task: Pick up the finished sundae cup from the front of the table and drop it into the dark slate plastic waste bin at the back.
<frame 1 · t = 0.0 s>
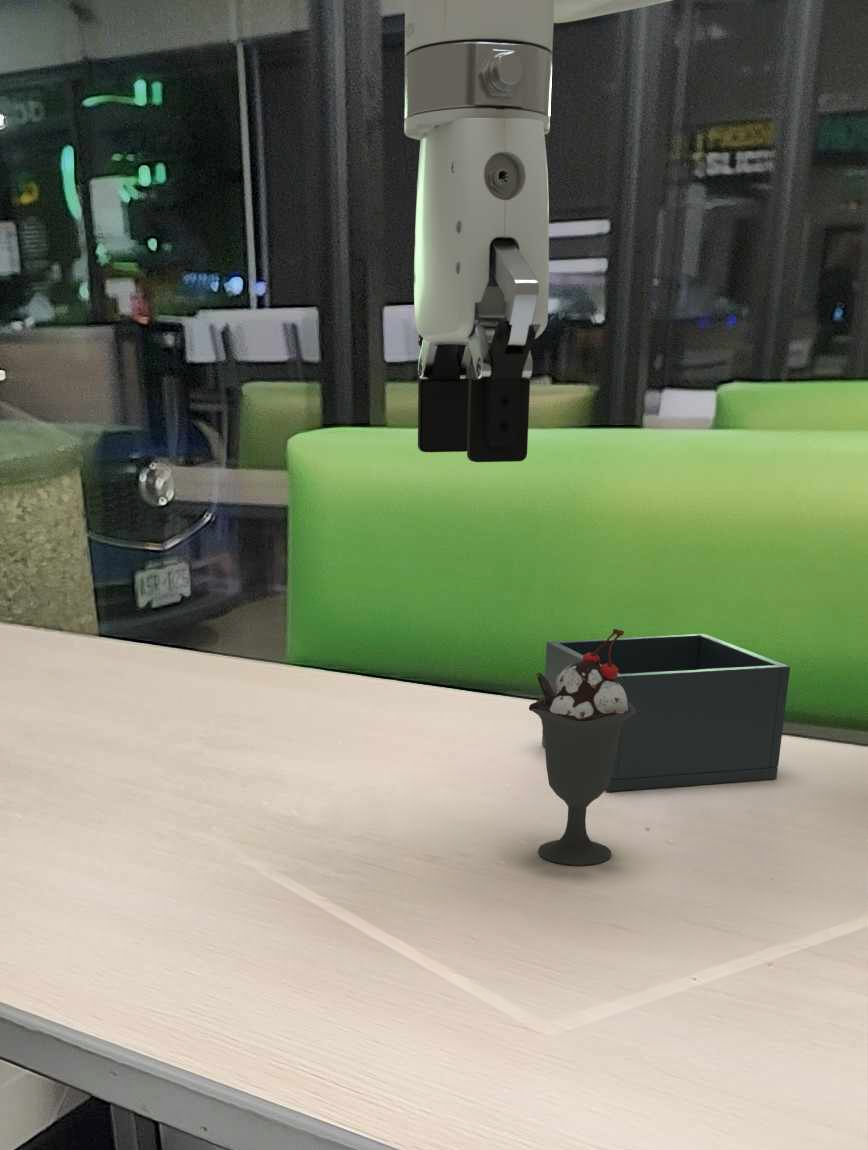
hand: (469, 456, 75), 26 cm above the table, tool pointing down, fingers open, 9 cm apart
sundae: (575, 855, 90), on the table
bin: (654, 761, 111), on the table
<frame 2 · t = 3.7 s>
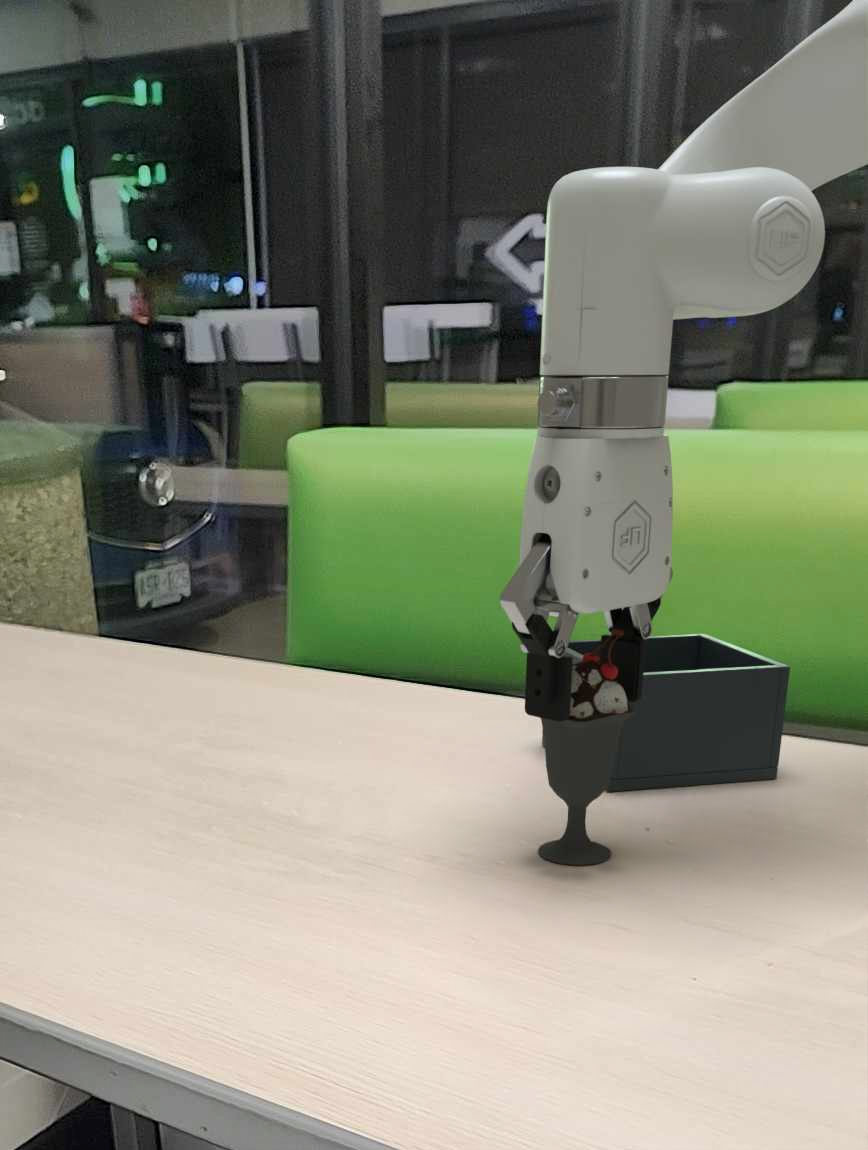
hand: (583, 705, 86), 10 cm above the table, tool pointing down, fingers closed on sundae, 6 cm apart
sundae: (574, 855, 90), on the table, touching gripper
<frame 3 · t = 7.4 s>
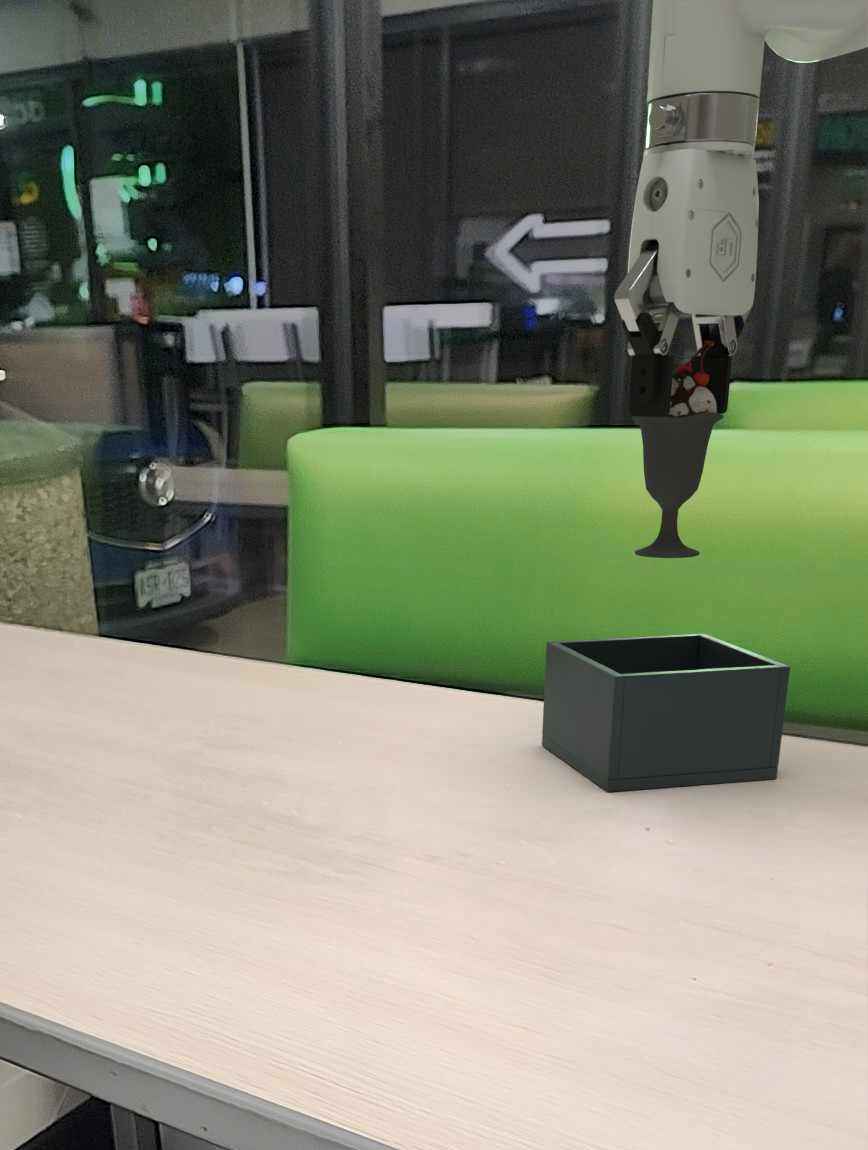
hand: (678, 412, 98), 27 cm above the table, tool pointing down, fingers closed on sundae, 6 cm apart
sundae: (667, 556, 103), point 17 cm above the table, touching gripper
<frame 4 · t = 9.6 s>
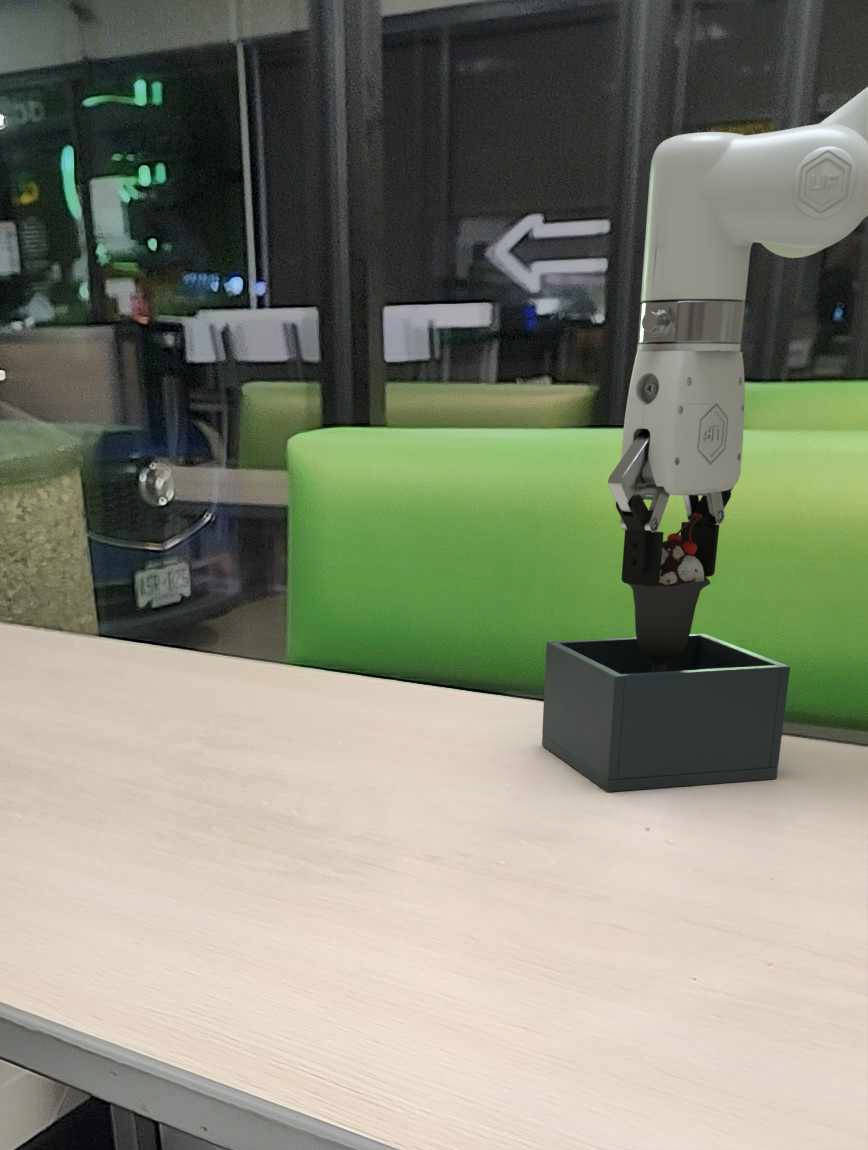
hand: (668, 577, 105), 15 cm above the table, tool pointing down, fingers closed on sundae, 6 cm apart
sundae: (656, 706, 109), point 5 cm above the table, touching gripper
when the fingers open (11 cm above the table, at t = 11.3 s): sundae stays where it is, resting on bin.
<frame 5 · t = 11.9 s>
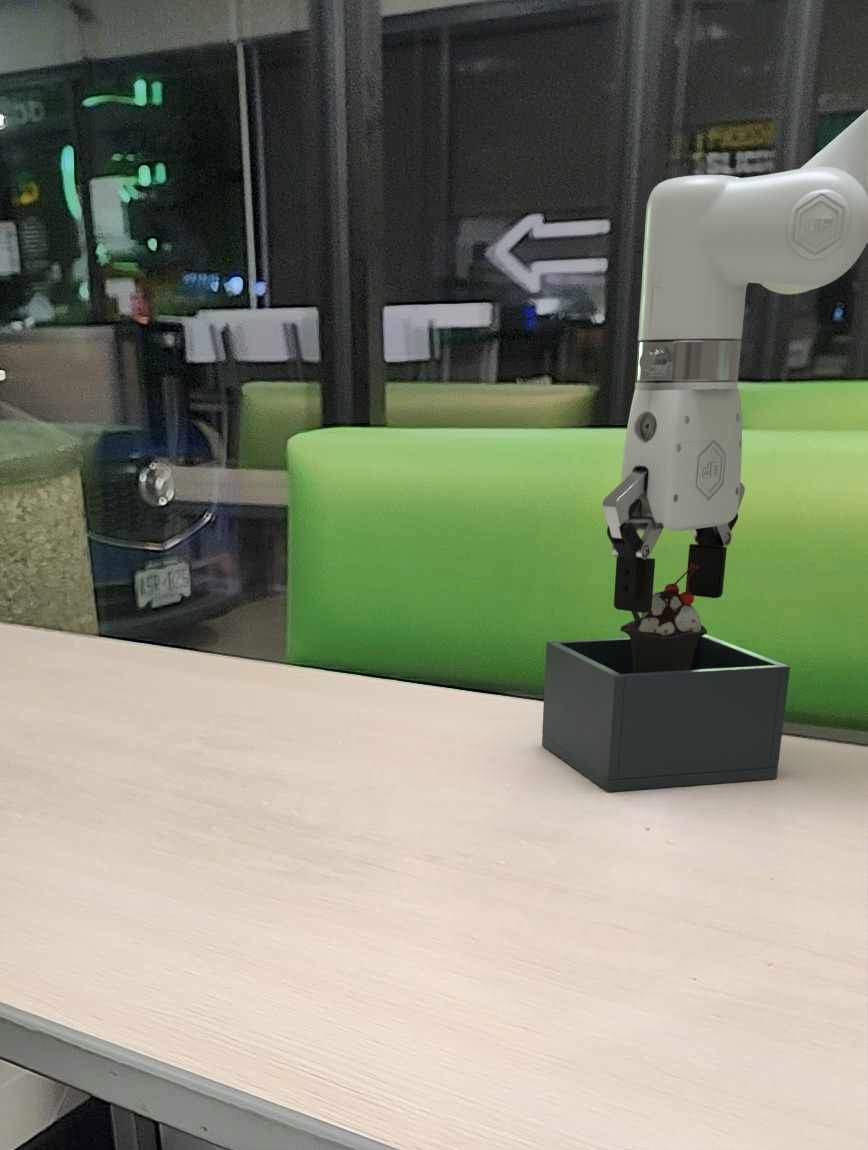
hand: (668, 603, 106), 13 cm above the table, tool pointing down, fingers open, 9 cm apart
sundae: (654, 751, 111), point 1 cm above the table, touching bin
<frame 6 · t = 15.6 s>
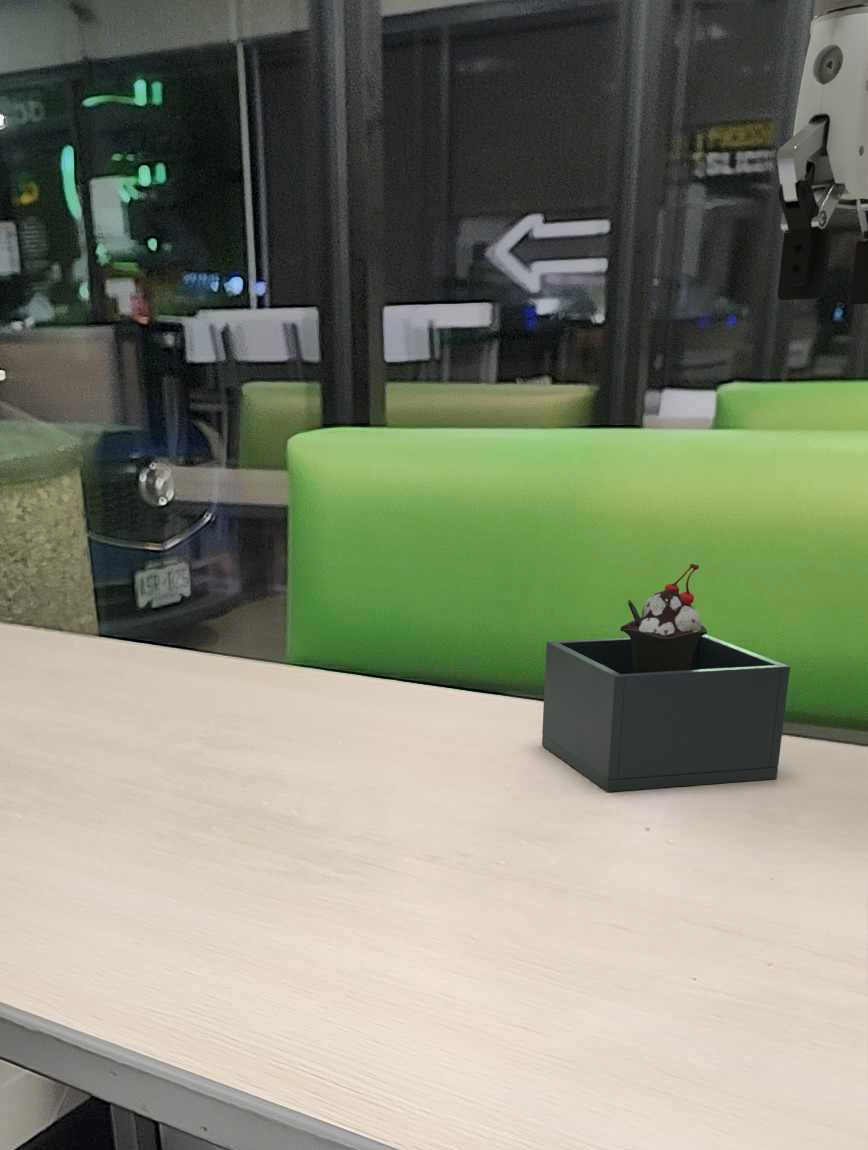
hand: (837, 301, 92), 34 cm above the table, tool pointing down, fingers open, 9 cm apart
nothing on the table moved.
at the end: sundae inside the target area in the bin (0.0 cm from its centre), point 0.8 cm above the bin's base; the gripper is holding nothing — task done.
